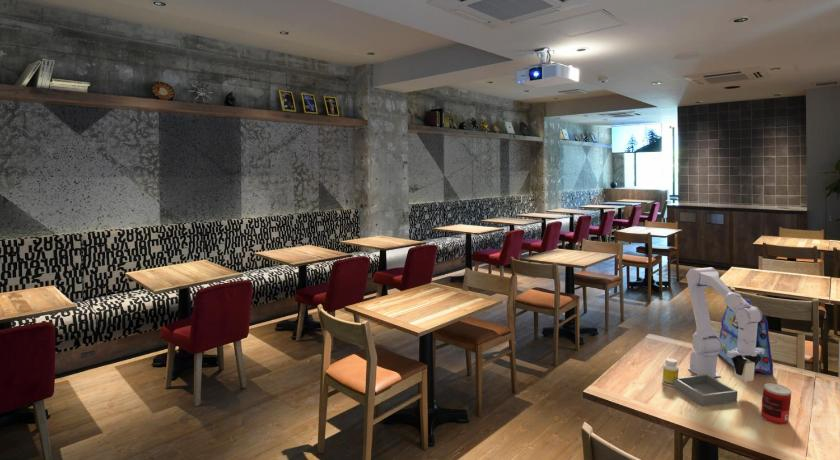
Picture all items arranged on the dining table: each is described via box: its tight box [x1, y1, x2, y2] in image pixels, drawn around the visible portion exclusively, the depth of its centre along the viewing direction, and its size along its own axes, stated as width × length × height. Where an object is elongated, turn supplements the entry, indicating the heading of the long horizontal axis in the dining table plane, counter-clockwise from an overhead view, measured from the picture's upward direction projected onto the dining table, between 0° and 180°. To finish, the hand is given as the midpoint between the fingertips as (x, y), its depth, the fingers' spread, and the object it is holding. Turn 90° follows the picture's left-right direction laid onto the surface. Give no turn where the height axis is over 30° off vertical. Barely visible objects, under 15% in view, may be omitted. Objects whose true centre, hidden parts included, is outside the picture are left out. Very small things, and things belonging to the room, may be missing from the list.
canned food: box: [760, 382, 792, 425], centre depth 165 cm, size 8×8×11 cm
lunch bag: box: [718, 298, 774, 376], centre depth 208 cm, size 22×14×29 cm, turn 172°
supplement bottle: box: [661, 357, 680, 387], centre depth 192 cm, size 5×5×10 cm
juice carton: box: [733, 358, 755, 383], centre depth 182 cm, size 5×4×8 cm
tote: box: [673, 374, 738, 407], centre depth 183 cm, size 15×15×4 cm
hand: (743, 373), depth 182 cm, fingers closed on juice carton, 4 cm apart
